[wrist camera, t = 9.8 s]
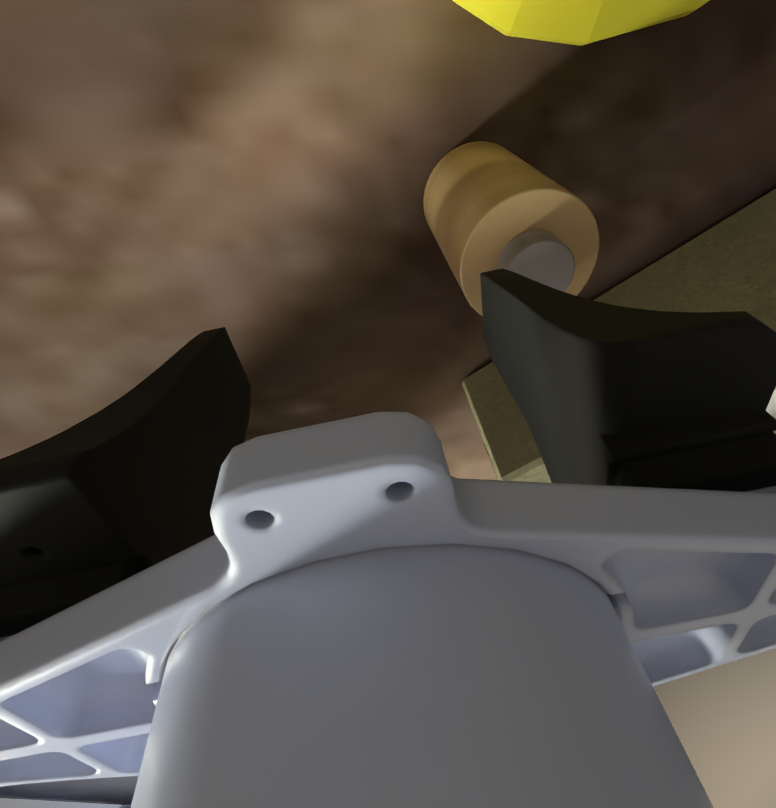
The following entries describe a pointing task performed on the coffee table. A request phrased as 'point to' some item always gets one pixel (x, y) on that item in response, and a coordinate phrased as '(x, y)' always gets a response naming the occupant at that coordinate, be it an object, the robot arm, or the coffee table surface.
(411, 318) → the coffee table surface
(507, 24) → the banana
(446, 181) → the pepper mill
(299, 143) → the coffee table surface
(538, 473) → the tissue dispenser
